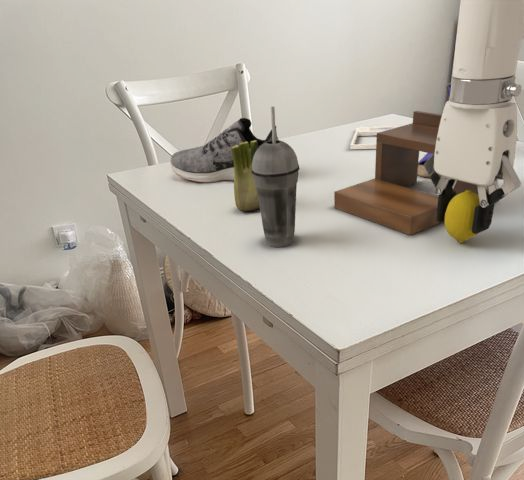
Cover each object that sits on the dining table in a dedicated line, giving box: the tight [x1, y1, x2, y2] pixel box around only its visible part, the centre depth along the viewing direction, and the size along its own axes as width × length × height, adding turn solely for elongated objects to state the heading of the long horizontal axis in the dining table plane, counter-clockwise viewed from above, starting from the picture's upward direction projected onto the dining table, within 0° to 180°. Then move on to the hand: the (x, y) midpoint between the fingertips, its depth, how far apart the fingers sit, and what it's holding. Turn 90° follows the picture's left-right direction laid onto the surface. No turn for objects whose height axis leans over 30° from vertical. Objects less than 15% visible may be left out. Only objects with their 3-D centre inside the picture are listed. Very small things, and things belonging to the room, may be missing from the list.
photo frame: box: [349, 125, 402, 150], centre depth 133 cm, size 15×1×18 cm
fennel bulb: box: [231, 140, 260, 212], centre depth 97 cm, size 6×5×12 cm
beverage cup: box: [251, 106, 300, 248], centre depth 81 cm, size 7×7×20 cm
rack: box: [333, 110, 489, 236], centre depth 92 cm, size 20×18×13 cm
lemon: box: [444, 190, 480, 244], centre depth 79 cm, size 6×6×8 cm
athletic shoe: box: [170, 117, 279, 184], centre depth 114 cm, size 10×27×12 cm, turn 71°
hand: (462, 224), depth 79 cm, fingers closed on lemon, 5 cm apart
